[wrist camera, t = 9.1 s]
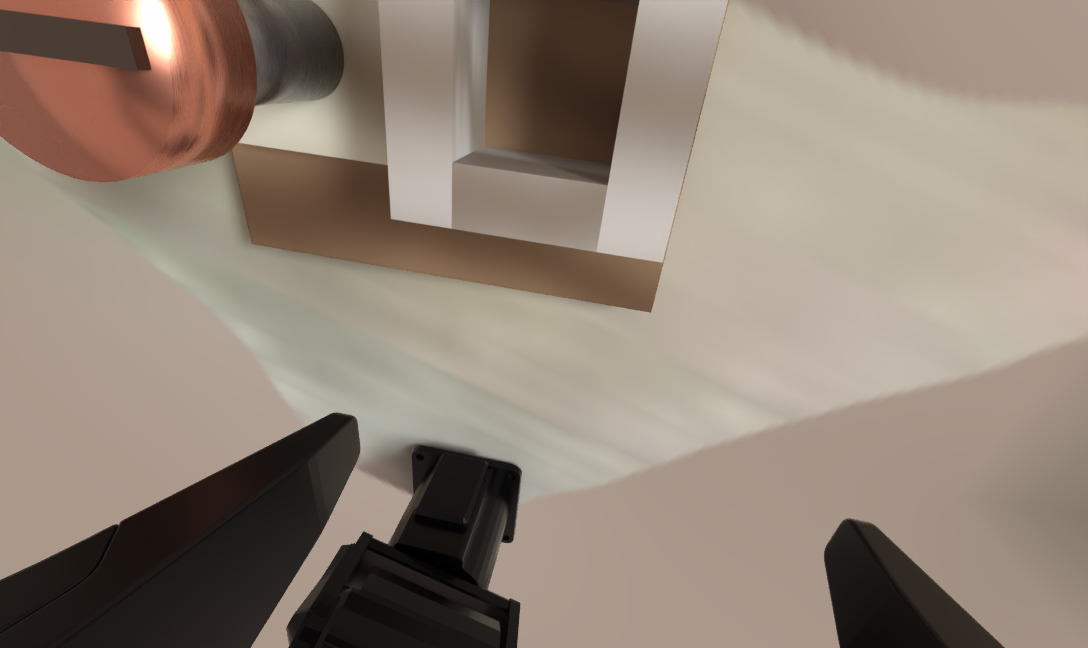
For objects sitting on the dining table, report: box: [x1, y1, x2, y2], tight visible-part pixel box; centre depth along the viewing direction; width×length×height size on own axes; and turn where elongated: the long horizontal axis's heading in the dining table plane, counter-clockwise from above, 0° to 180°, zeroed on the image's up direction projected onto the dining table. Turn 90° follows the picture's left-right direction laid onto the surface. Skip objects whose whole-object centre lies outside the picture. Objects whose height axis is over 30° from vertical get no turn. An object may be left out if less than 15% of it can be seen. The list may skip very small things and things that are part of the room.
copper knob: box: [0, 0, 344, 182], centre depth 13 cm, size 6×6×9 cm
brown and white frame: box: [232, 0, 729, 312], centre depth 15 cm, size 16×18×5 cm
